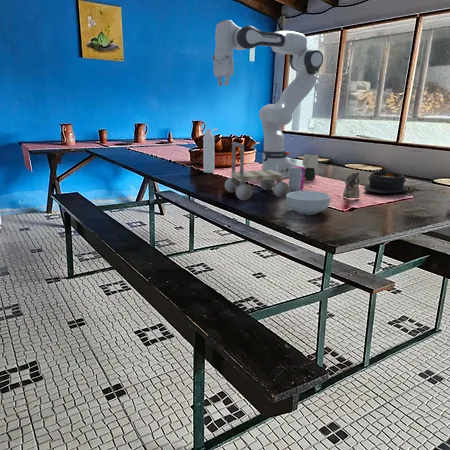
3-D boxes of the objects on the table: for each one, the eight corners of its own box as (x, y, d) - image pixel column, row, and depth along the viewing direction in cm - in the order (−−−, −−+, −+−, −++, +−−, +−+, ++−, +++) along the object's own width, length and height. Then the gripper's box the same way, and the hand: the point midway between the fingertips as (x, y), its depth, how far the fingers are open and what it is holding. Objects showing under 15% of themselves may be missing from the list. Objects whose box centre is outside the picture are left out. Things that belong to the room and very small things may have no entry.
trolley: (272, 189, 200) (274, 139, 192) (288, 196, 185) (291, 143, 178) (224, 192, 192) (224, 141, 184) (237, 201, 177) (238, 145, 170)
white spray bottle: (206, 173, 237) (206, 129, 230) (201, 171, 243) (201, 128, 235) (219, 172, 241) (219, 128, 234) (214, 170, 247) (214, 128, 239)
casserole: (381, 184, 211) (383, 168, 209) (416, 191, 198) (419, 174, 195) (353, 191, 196) (355, 174, 194) (389, 199, 182) (392, 180, 180)
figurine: (340, 196, 186) (343, 170, 182) (356, 196, 186) (359, 170, 182) (344, 200, 179) (347, 173, 176) (360, 200, 179) (364, 173, 175)
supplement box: (299, 192, 193) (300, 168, 190) (287, 190, 196) (289, 167, 193) (303, 190, 198) (305, 166, 194) (292, 188, 201) (293, 165, 197)
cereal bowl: (322, 206, 169) (324, 190, 167) (334, 218, 154) (336, 200, 151) (282, 206, 169) (283, 190, 167) (289, 218, 153) (290, 200, 151)
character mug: (312, 177, 229) (313, 153, 225) (321, 179, 223) (323, 155, 219) (297, 179, 224) (298, 155, 220) (306, 181, 218) (307, 156, 214)
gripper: (237, 55, 193) (236, 85, 198) (223, 57, 212) (222, 85, 216) (224, 54, 191) (224, 85, 196) (211, 57, 210) (211, 85, 214)
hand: (223, 85), depth 206 cm, fingers open, 8 cm apart
